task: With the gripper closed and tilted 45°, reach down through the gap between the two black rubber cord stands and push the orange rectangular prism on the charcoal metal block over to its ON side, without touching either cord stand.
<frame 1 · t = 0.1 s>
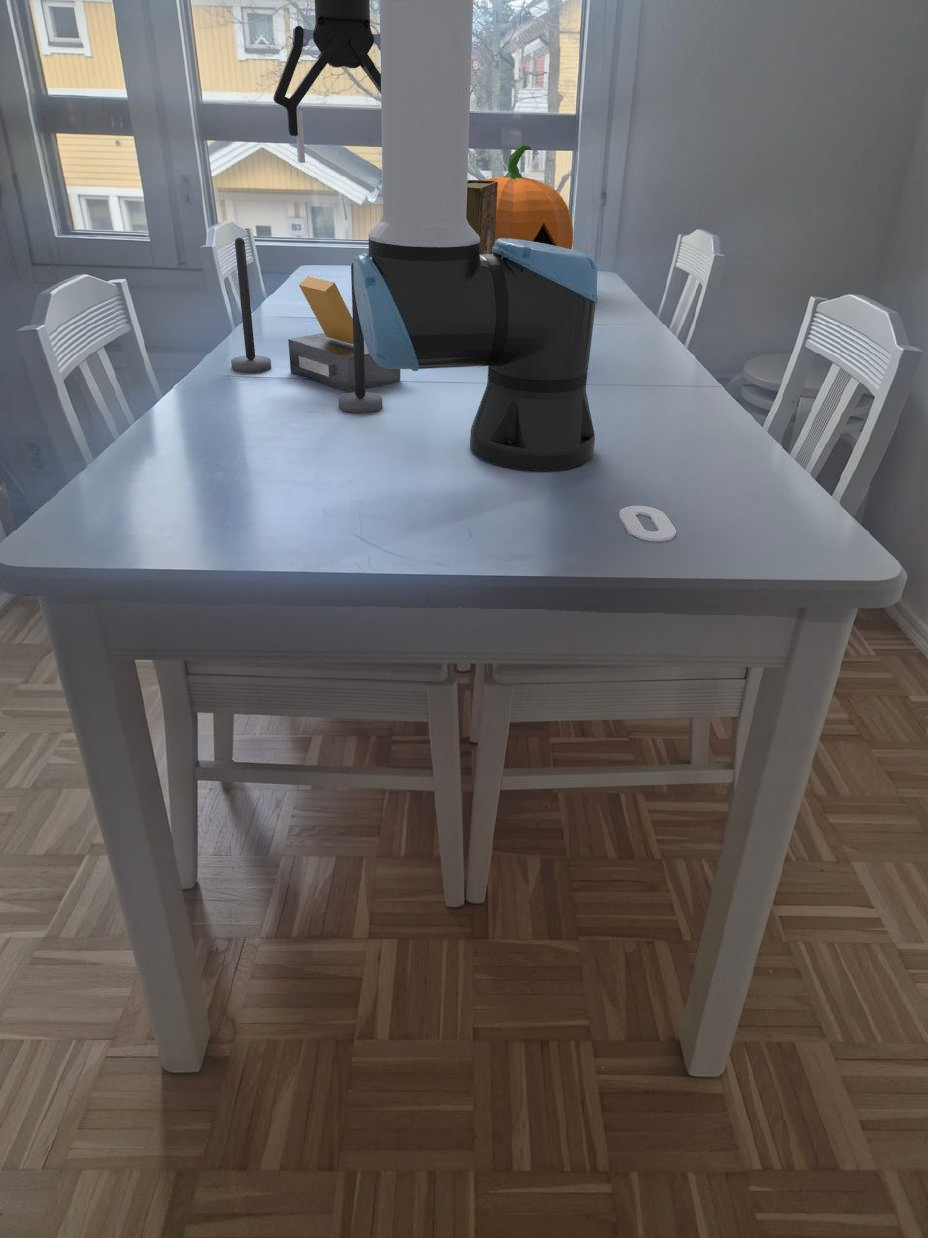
hand: (347, 163, 125), 28 cm above the table, tool pointing down, fingers open, 13 cm apart
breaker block: (345, 376, 128), on the table
orange rectangular prism: (331, 312, 121), point 10 cm above the table, hinge at -30.0°
chain link: (645, 528, 85), on the table
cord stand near: (360, 406, 115), on the table
book: (469, 336, 154), on the table
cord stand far: (251, 367, 130), on the table
jack-o'-lantern: (506, 293, 192), on the table
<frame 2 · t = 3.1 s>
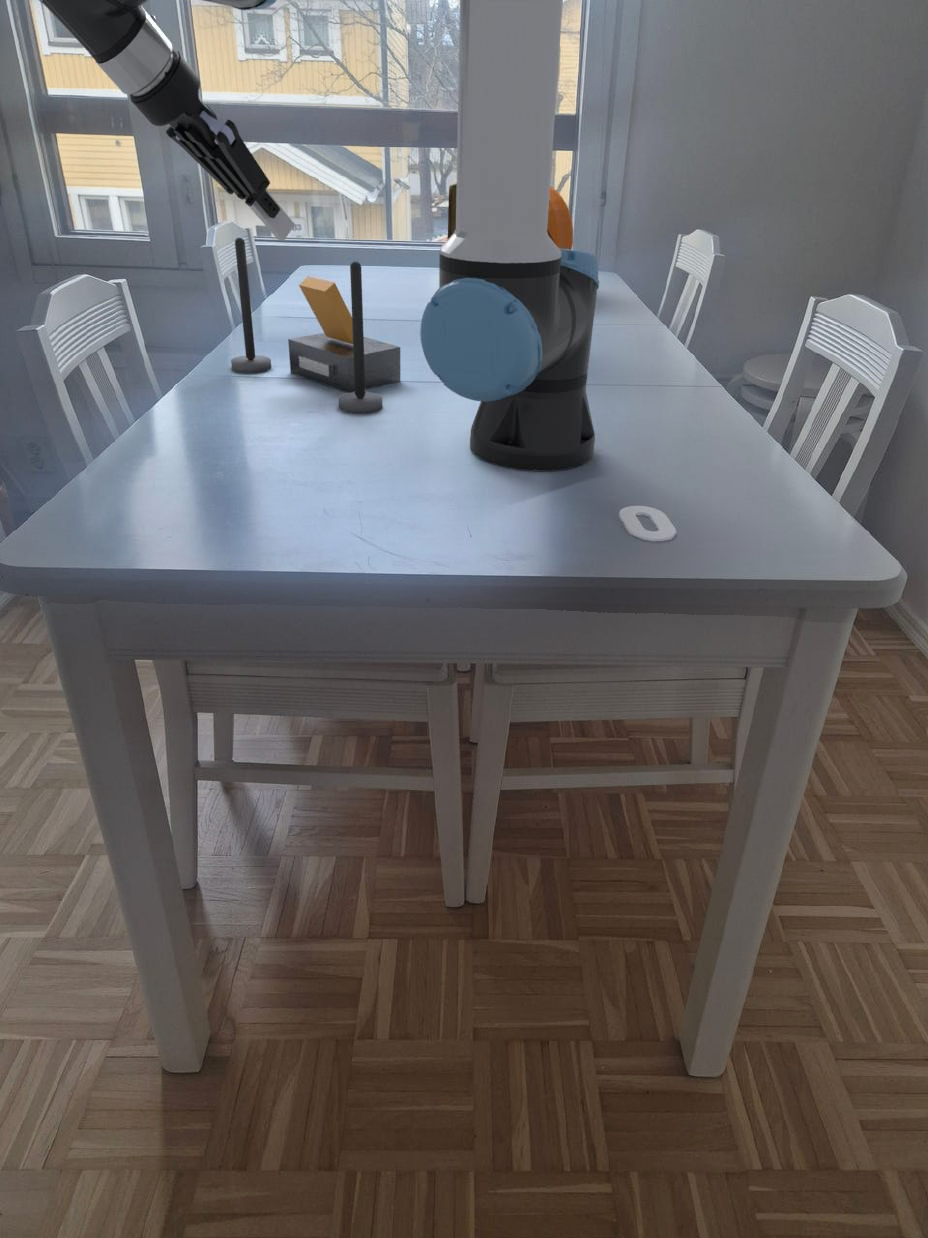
hand: (286, 231, 111), 21 cm above the table, tool tilted 45°, fingers closed
nothing on the table moved.
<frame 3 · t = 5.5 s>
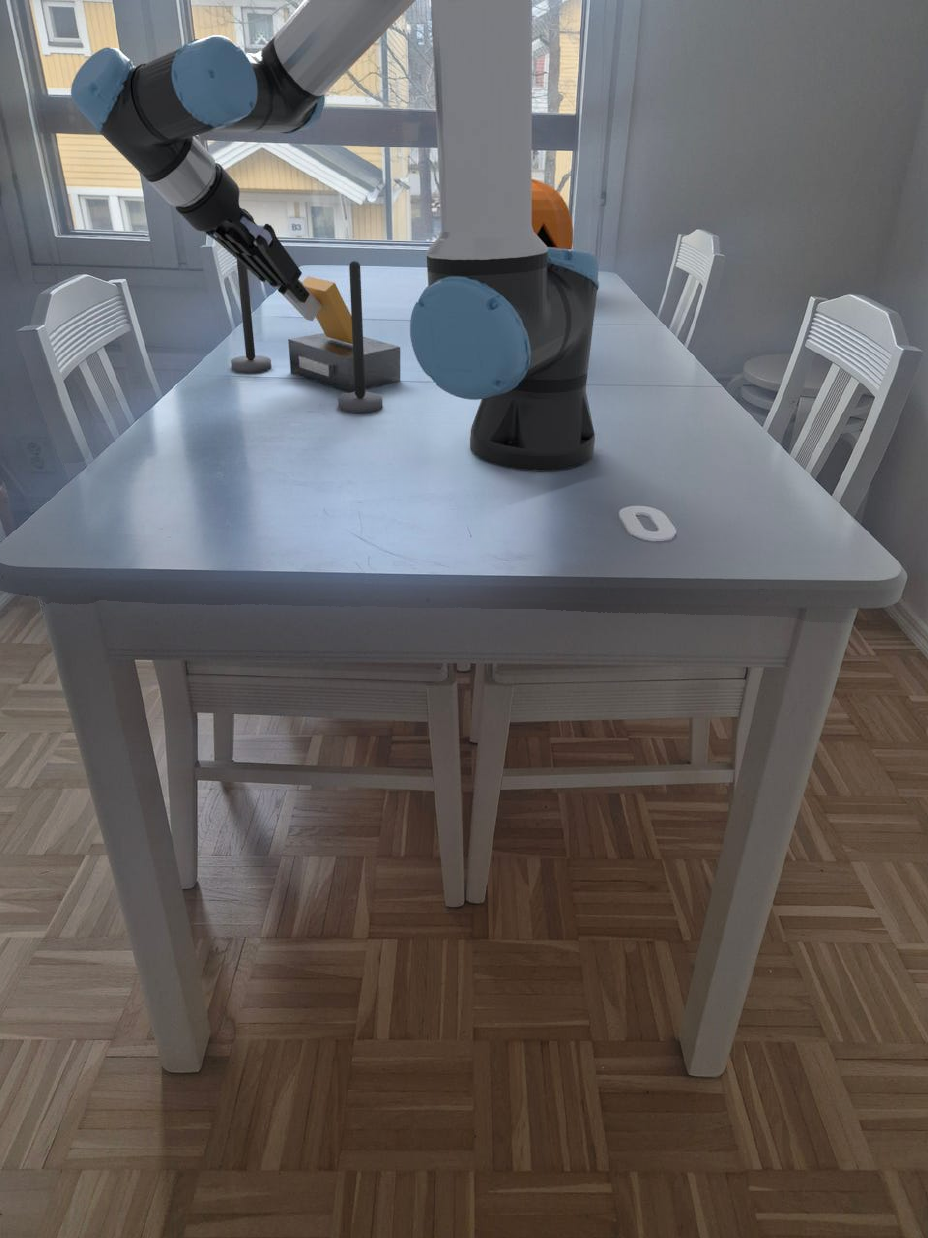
hand: (314, 312, 119), 10 cm above the table, tool tilted 45°, fingers closed
orange rectangular prism: (331, 312, 121), point 10 cm above the table, hinge at -30.0°, touching gripper
everything else where it was.
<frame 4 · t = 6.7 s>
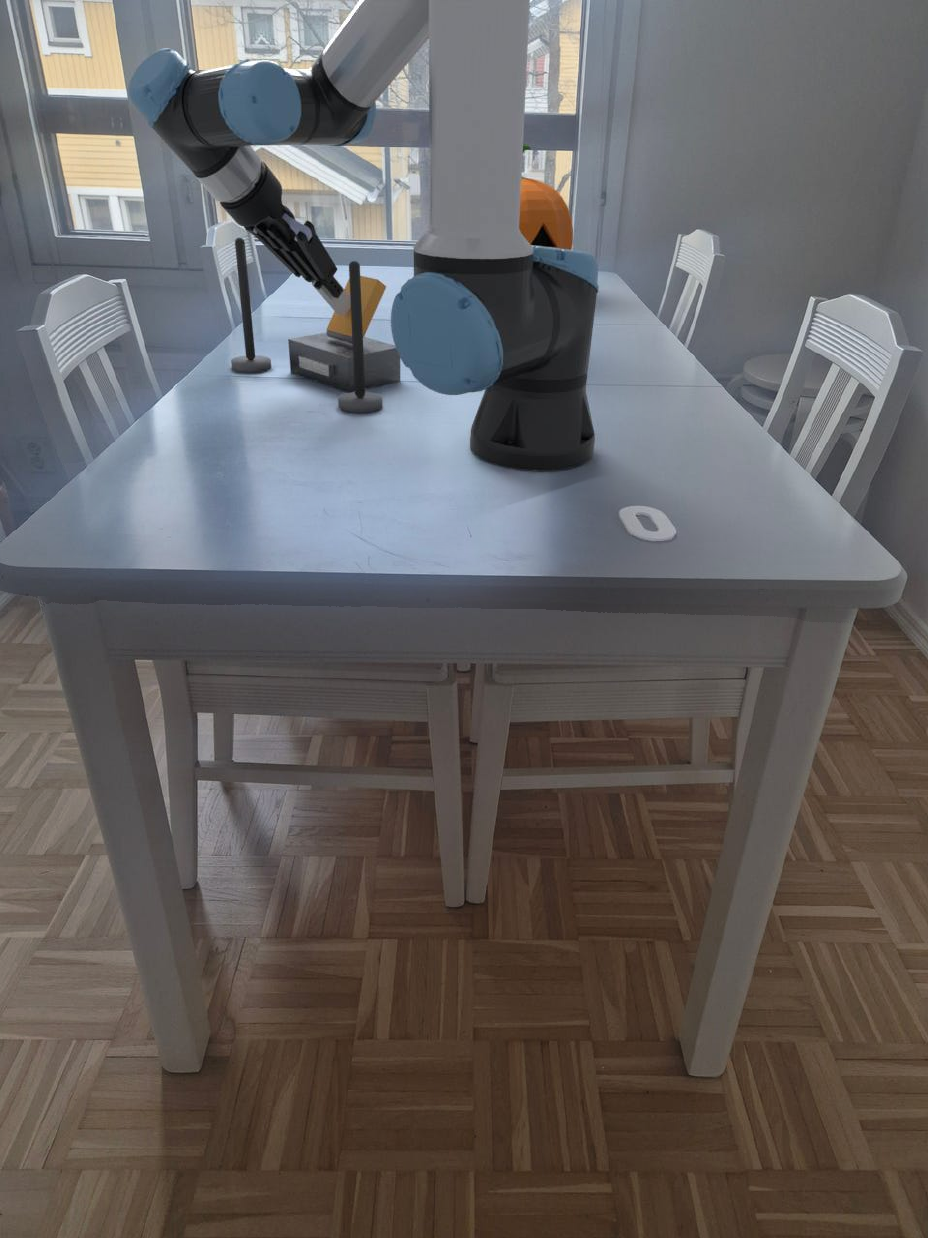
hand: (345, 307, 123), 10 cm above the table, tool tilted 45°, fingers closed
orange rectangular prism: (355, 310, 124), point 9 cm above the table, hinge at 35.0°, touching gripper
everything else where it was.
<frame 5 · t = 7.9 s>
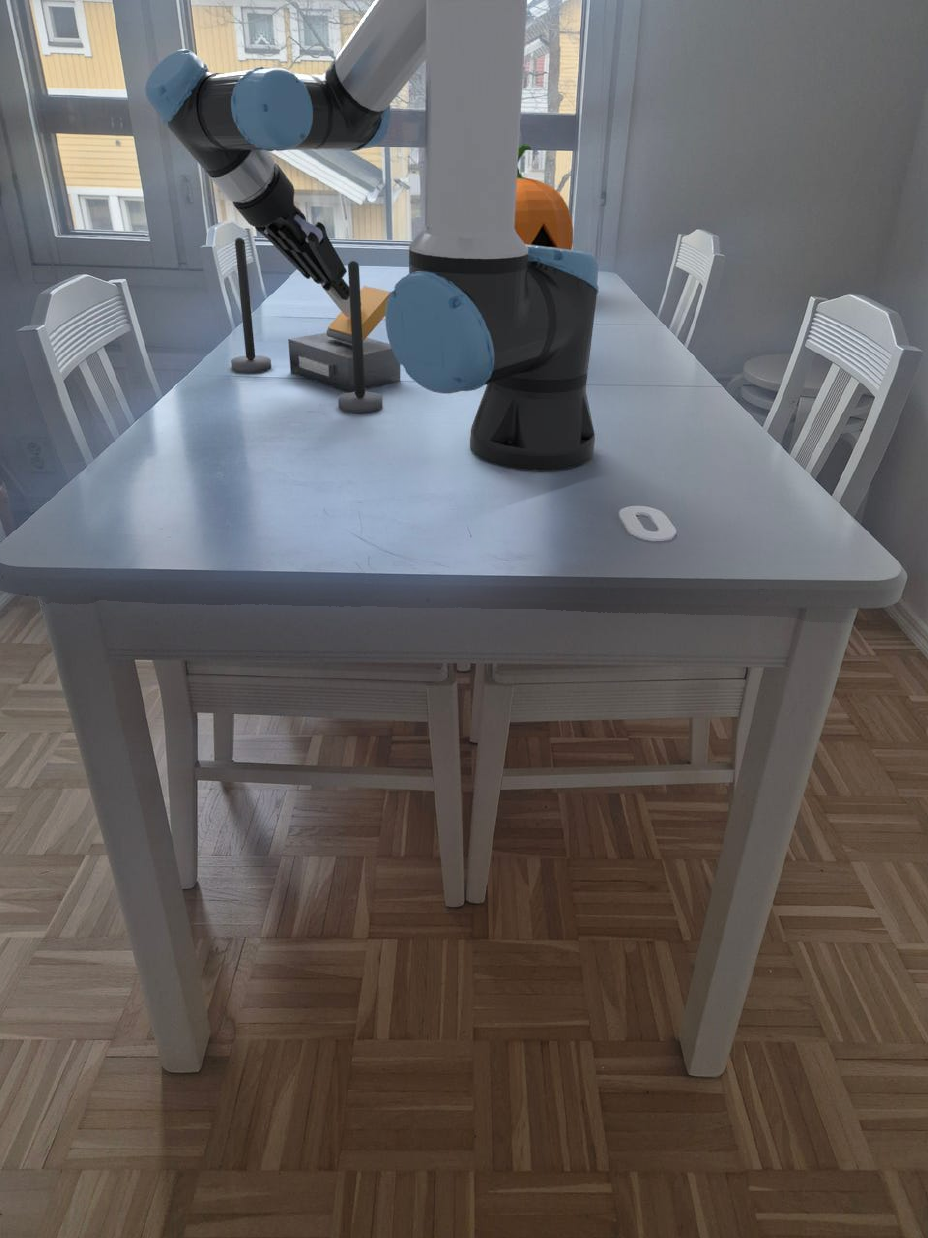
hand: (354, 310, 125), 9 cm above the table, tool tilted 45°, fingers closed
orange rectangular prism: (360, 316, 126), point 8 cm above the table, hinge at 55.1°, touching gripper
everything else where it was.
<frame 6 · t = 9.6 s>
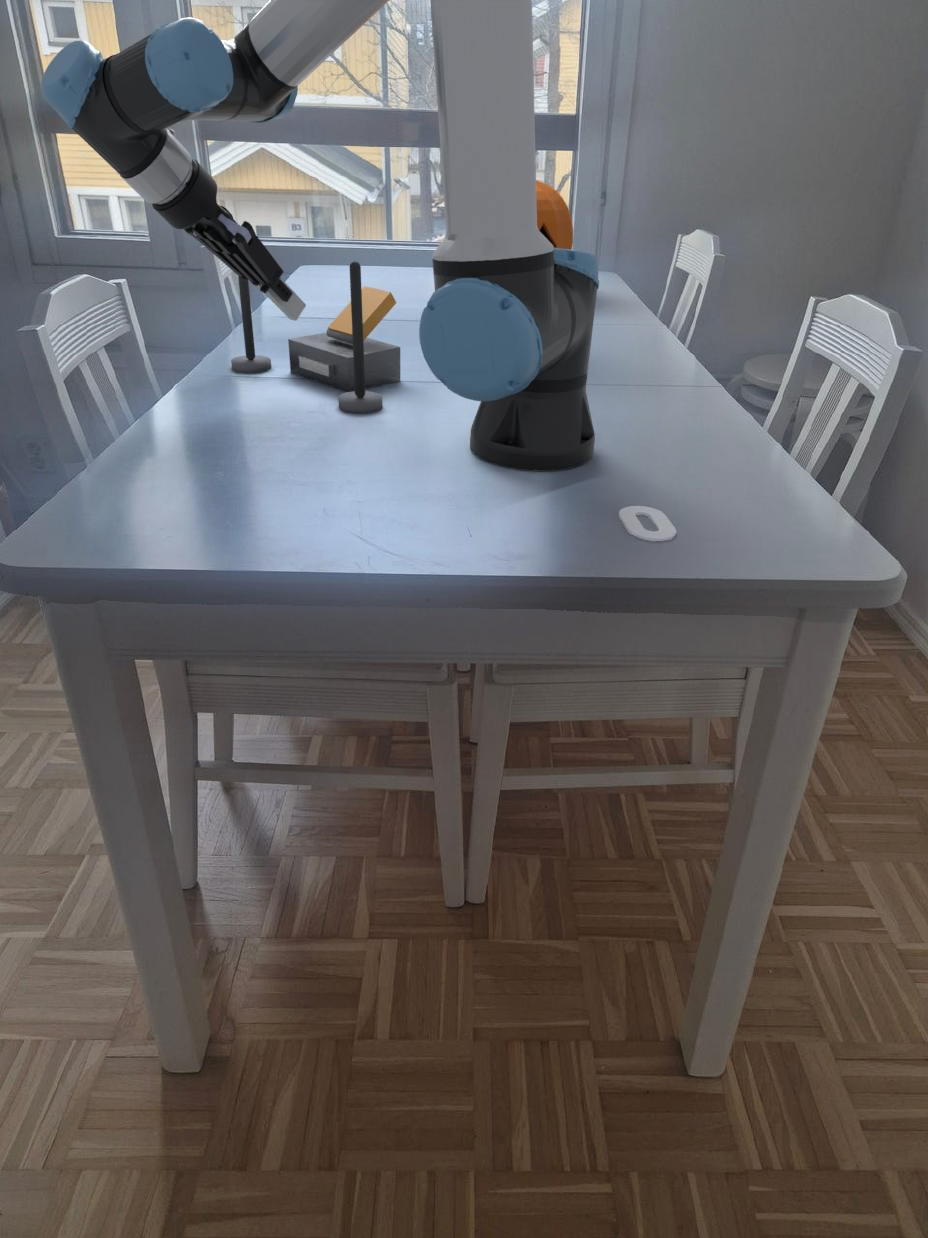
hand: (297, 311, 117), 10 cm above the table, tool tilted 45°, fingers closed
orange rectangular prism: (360, 316, 126), point 8 cm above the table, hinge at 55.1°
everything else where it was.
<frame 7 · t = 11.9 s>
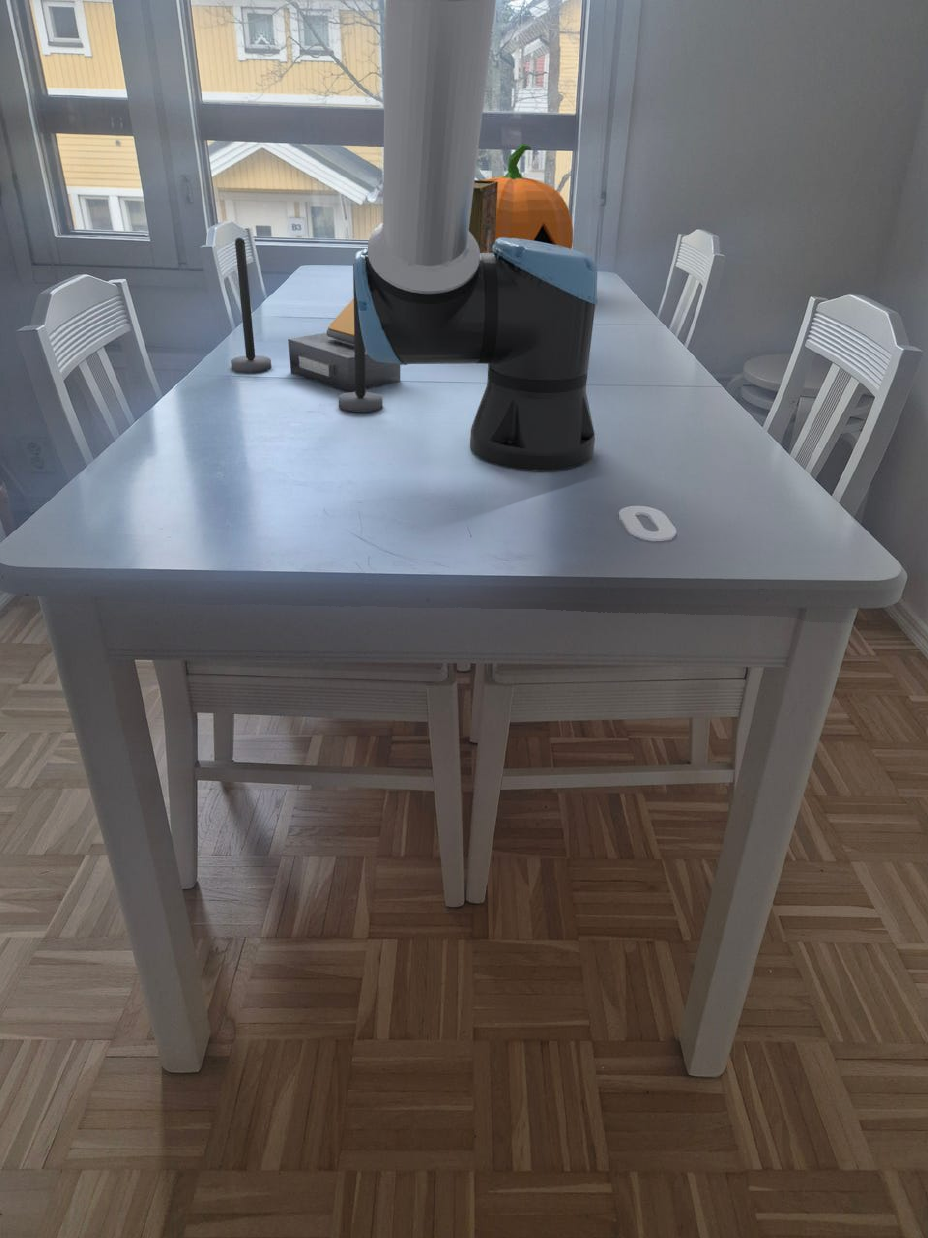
hand: (442, 136, 102), 33 cm above the table, tool pointing down, fingers closed
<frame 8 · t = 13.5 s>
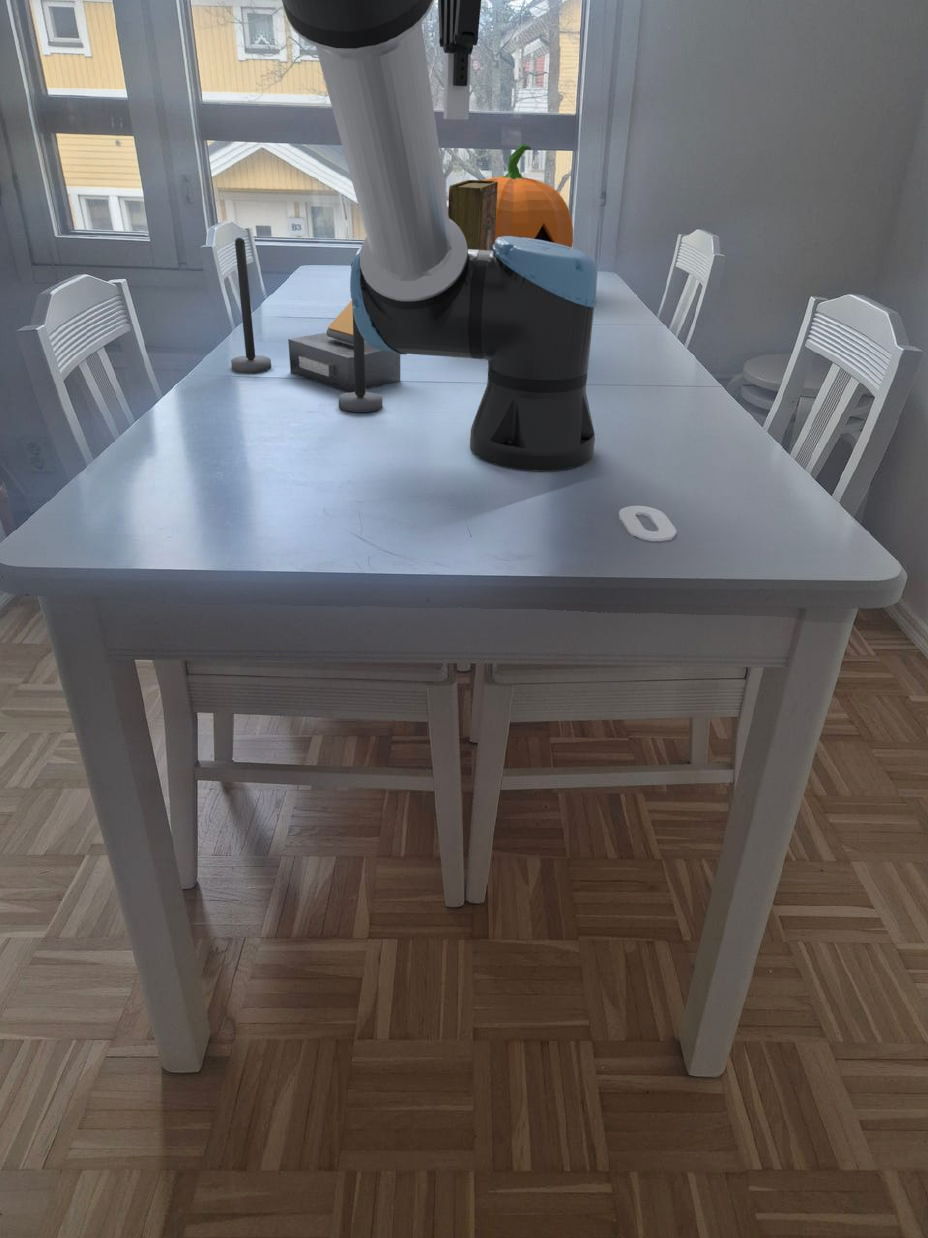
hand: (456, 118, 100), 34 cm above the table, tool pointing down, fingers closed
nothing on the table moved.
at the end: orange rectangular prism at +55° (first picture: -30°); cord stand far moved 0.0 cm from its start; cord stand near moved 0.1 cm from its start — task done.
